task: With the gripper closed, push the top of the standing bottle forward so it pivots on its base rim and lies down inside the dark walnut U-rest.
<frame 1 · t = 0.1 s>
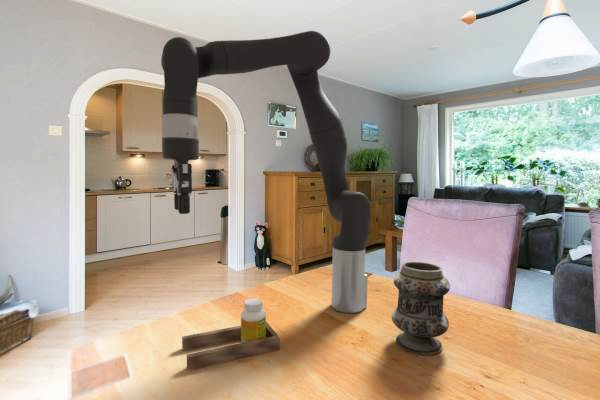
hand: (181, 211, 73), 29 cm above the table, tool pointing down, fingers open, 8 cm apart
supplement bottle: (253, 344, 73), resting in walnut U-rest
apothecary jar: (418, 344, 74), on the table
walnut U-rest: (231, 348, 71), on the table
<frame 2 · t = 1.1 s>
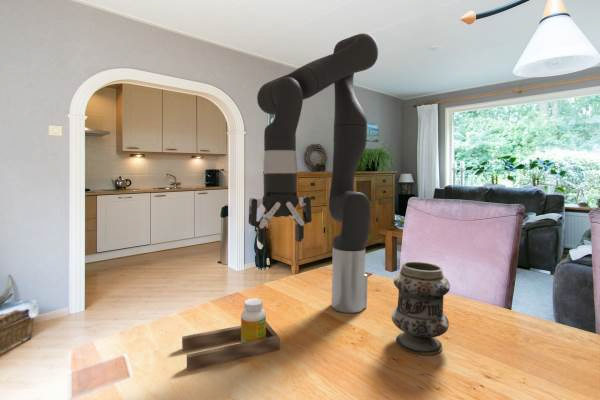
hand: (280, 242, 75), 22 cm above the table, tool pointing down, fingers open, 8 cm apart
nothing on the table moved.
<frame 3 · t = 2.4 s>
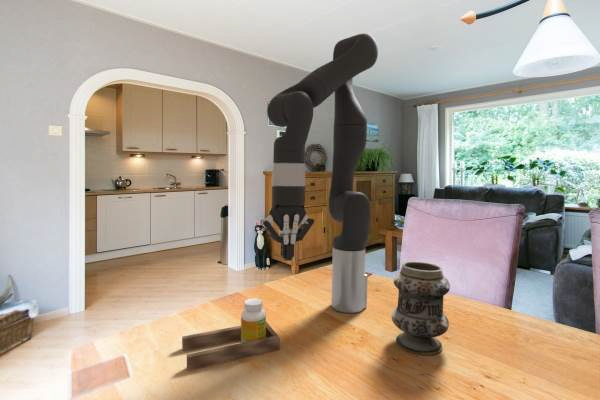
hand: (287, 259, 75), 18 cm above the table, tool pointing down, fingers closed
nothing on the table moved.
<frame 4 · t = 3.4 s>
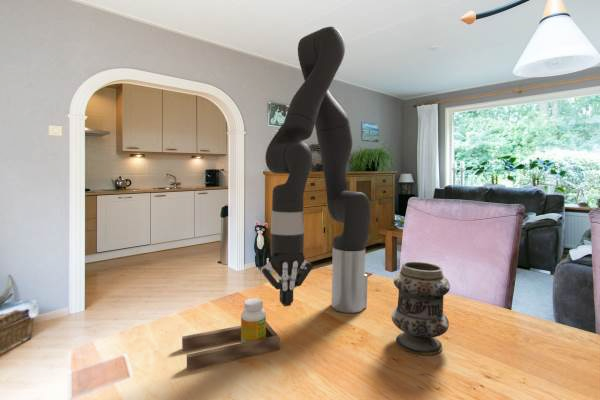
hand: (286, 304, 76), 8 cm above the table, tool pointing down, fingers closed
nothing on the table moved.
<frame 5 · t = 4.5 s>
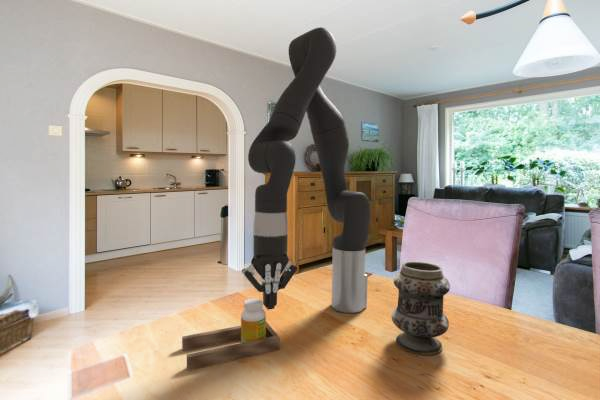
hand: (269, 307, 74), 8 cm above the table, tool pointing down, fingers closed
supplement bottle: (253, 344, 73), resting in walnut U-rest, touching gripper
everything else where it was.
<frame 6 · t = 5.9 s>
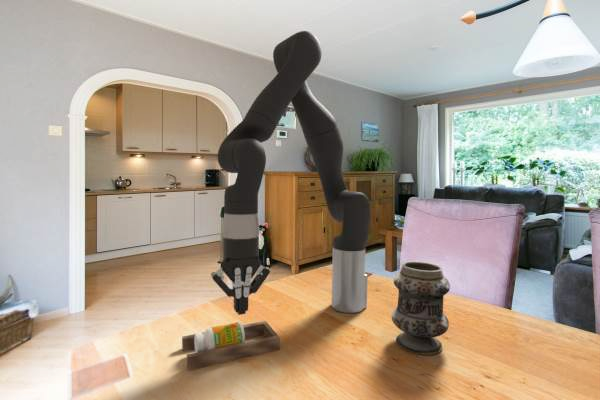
hand: (240, 313, 71), 8 cm above the table, tool pointing down, fingers closed
supplement bottle: (242, 334, 72), point 3 cm above the table
everything else where it was.
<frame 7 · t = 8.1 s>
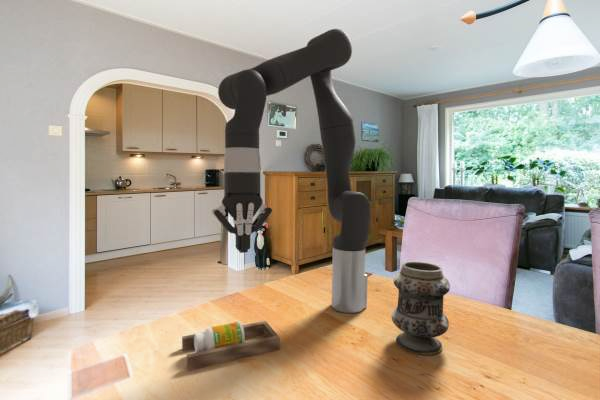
hand: (242, 251, 70), 21 cm above the table, tool pointing down, fingers closed
nothing on the table moved.
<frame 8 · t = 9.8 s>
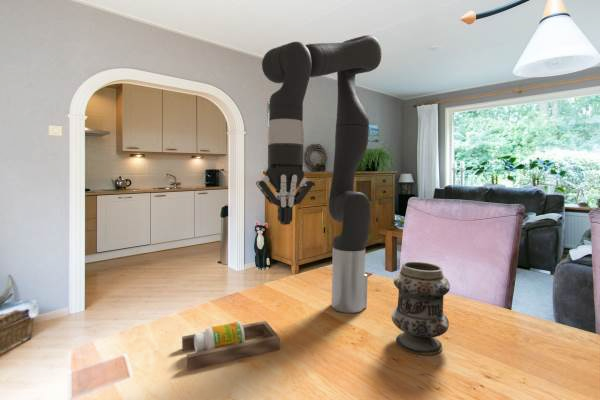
hand: (284, 224, 71), 27 cm above the table, tool pointing down, fingers closed
nothing on the table moved.
at the end: supplement bottle tilted 90°; supplement bottle inside the target area on the walnut U-rest (2.5 cm from its centre), point 2.7 cm above the walnut U-rest's base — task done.
